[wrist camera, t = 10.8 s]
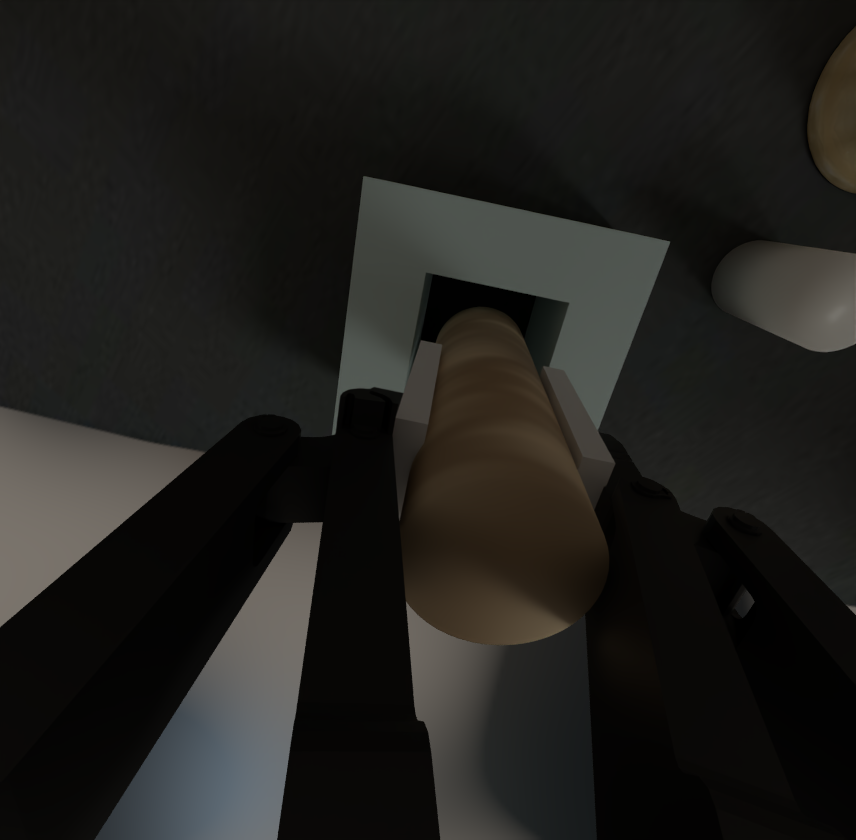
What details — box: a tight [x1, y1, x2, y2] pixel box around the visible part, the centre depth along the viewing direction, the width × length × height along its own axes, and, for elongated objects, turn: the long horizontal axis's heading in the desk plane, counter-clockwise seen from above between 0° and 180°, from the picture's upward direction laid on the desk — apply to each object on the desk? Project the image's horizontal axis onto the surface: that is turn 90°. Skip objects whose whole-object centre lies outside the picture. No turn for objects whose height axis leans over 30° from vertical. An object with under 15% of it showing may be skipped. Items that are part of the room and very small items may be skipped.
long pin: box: [399, 307, 609, 645], centre depth 15 cm, size 4×4×14 cm
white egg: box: [711, 240, 856, 352], centre depth 23 cm, size 4×4×7 cm
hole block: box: [332, 176, 670, 435], centre depth 25 cm, size 12×12×8 cm
